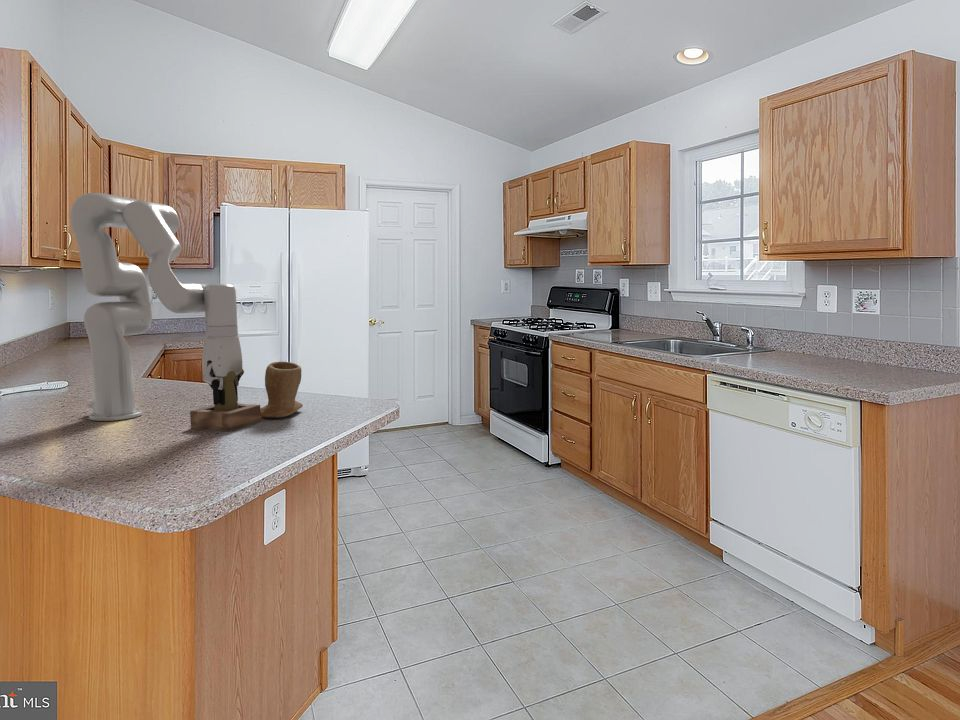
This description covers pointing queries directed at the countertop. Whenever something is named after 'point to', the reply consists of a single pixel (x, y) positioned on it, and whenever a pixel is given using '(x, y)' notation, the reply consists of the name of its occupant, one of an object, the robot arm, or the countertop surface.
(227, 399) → the olive knobbed peg
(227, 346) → the robot arm
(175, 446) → the countertop surface
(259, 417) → the socket block
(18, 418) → the countertop surface
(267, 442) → the countertop surface
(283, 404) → the stone cup
